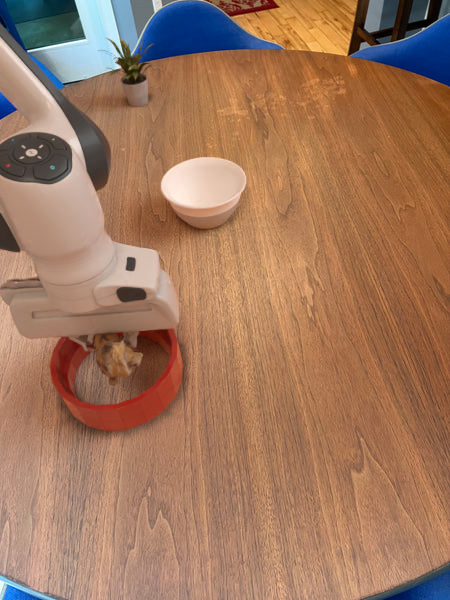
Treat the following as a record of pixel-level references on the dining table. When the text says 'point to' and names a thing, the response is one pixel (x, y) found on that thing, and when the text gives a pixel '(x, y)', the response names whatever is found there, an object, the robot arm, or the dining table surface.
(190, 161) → the bowl
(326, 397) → the dining table surface
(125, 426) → the red plastic ring
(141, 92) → the house plant
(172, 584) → the dining table surface
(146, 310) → the robot arm
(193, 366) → the dining table surface
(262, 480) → the dining table surface
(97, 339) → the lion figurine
